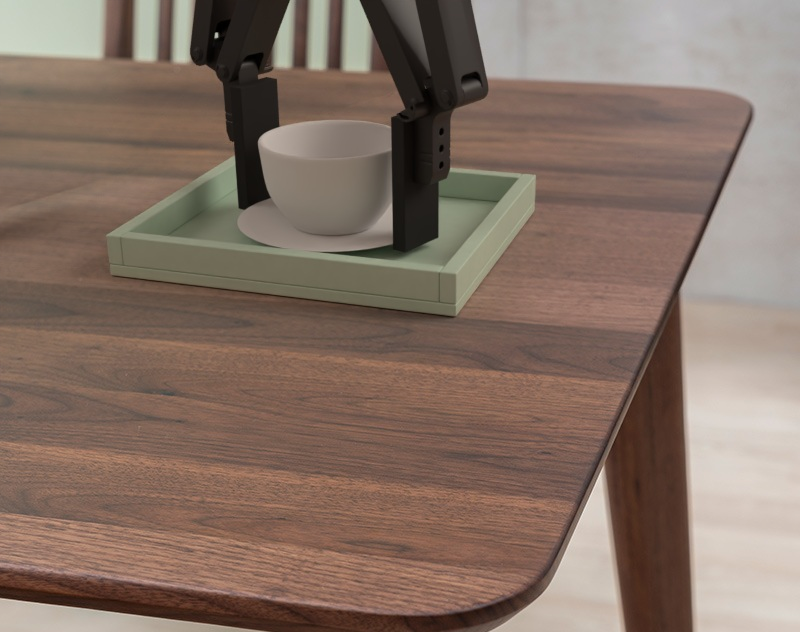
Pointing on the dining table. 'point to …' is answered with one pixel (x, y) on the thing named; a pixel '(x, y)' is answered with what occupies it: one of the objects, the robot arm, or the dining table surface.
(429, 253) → the tray
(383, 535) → the dining table surface
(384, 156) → the teacup
